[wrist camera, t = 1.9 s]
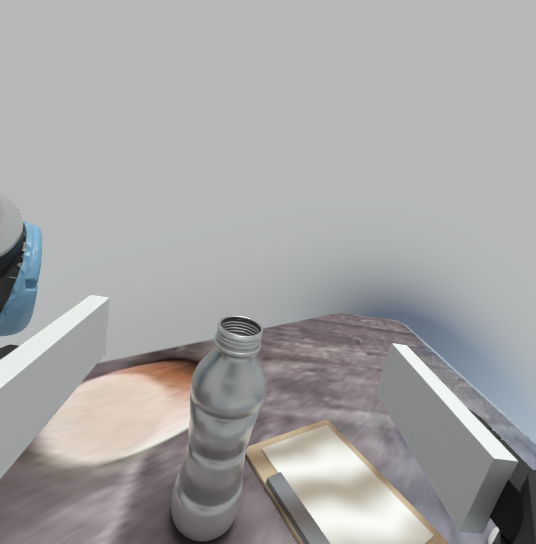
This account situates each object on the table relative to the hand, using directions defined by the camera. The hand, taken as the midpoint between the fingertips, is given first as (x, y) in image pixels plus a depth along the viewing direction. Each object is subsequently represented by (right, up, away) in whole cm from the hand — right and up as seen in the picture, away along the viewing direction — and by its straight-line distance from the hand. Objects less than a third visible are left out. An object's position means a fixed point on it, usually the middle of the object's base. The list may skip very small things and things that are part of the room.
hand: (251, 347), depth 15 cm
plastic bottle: (-5, -20, +16) cm, 26 cm away
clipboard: (+8, -21, +21) cm, 31 cm away
